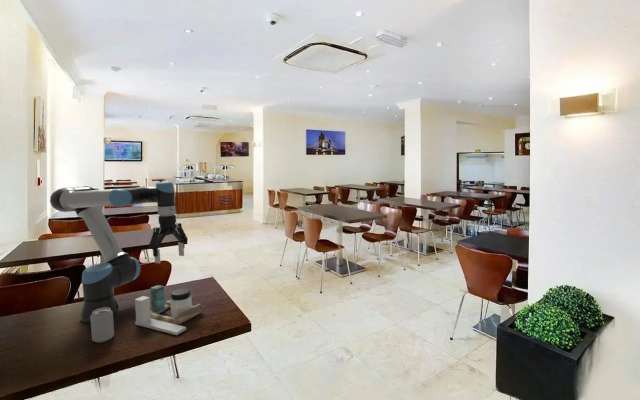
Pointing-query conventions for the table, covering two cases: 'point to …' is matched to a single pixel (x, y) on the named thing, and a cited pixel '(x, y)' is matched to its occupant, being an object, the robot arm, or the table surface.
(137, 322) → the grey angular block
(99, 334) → the can
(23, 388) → the table surface
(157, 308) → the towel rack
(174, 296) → the jar
